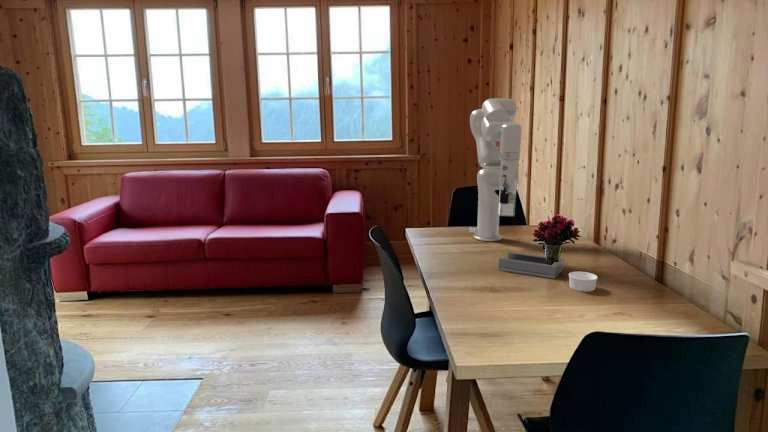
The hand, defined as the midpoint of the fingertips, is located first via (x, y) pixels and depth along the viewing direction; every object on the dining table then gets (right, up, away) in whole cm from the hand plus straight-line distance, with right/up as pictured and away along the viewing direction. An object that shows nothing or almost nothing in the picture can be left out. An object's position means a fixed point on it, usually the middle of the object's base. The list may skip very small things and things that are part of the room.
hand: (507, 201), depth 212 cm
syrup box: (0, -5, +1) cm, 6 cm away
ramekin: (+17, -29, -34) cm, 48 cm away
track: (+5, -25, -15) cm, 30 cm away
